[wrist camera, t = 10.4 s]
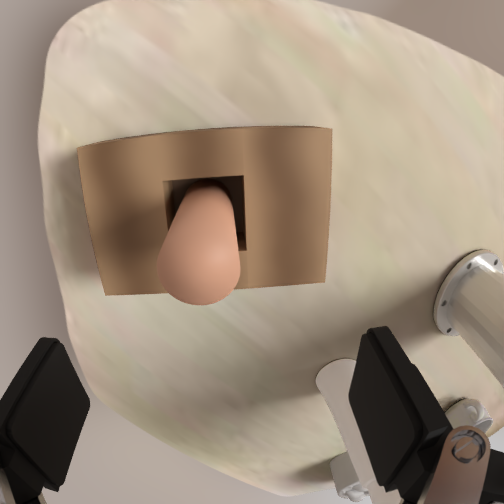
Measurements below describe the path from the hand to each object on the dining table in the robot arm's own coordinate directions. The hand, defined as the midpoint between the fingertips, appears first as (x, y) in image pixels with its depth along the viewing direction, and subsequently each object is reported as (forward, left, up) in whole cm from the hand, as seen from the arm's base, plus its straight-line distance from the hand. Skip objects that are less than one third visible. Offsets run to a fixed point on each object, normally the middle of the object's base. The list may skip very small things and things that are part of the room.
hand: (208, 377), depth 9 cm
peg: (+1, 0, -19) cm, 19 cm away
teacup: (-42, +41, -20) cm, 62 cm away
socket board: (+1, 0, -20) cm, 20 cm away
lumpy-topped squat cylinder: (-22, +51, -20) cm, 59 cm away
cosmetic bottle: (-13, +23, -20) cm, 33 cm away
